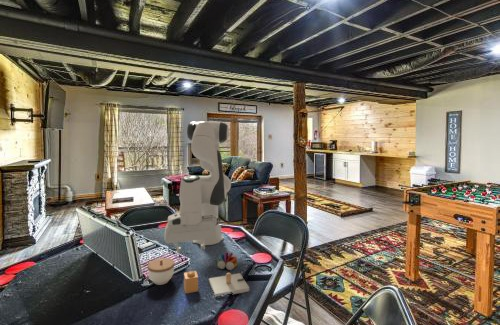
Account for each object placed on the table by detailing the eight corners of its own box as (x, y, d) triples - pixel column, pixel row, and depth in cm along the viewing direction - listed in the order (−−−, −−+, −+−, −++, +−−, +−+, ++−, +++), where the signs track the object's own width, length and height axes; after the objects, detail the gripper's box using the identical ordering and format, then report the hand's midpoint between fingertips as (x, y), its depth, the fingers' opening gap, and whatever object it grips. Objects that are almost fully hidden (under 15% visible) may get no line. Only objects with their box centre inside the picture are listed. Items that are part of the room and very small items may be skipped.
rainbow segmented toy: (234, 272, 122) (235, 257, 122) (214, 269, 124) (214, 255, 124) (239, 263, 131) (239, 249, 130) (220, 261, 133) (220, 247, 132)
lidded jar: (149, 290, 107) (149, 268, 106) (146, 277, 116) (146, 257, 115) (176, 284, 111) (176, 262, 111) (171, 272, 121) (171, 252, 120)
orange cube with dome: (183, 286, 110) (183, 270, 109) (196, 284, 112) (196, 269, 111) (185, 293, 105) (185, 277, 104) (198, 291, 107) (198, 275, 106)
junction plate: (208, 281, 114) (208, 269, 113) (239, 276, 119) (240, 264, 118) (215, 297, 103) (215, 284, 102) (249, 291, 108) (249, 278, 107)
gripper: (215, 212, 112) (214, 244, 113) (163, 216, 105) (164, 250, 106) (218, 216, 106) (218, 250, 107) (164, 221, 99) (165, 257, 100)
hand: (191, 250), depth 106 cm, fingers open, 8 cm apart
